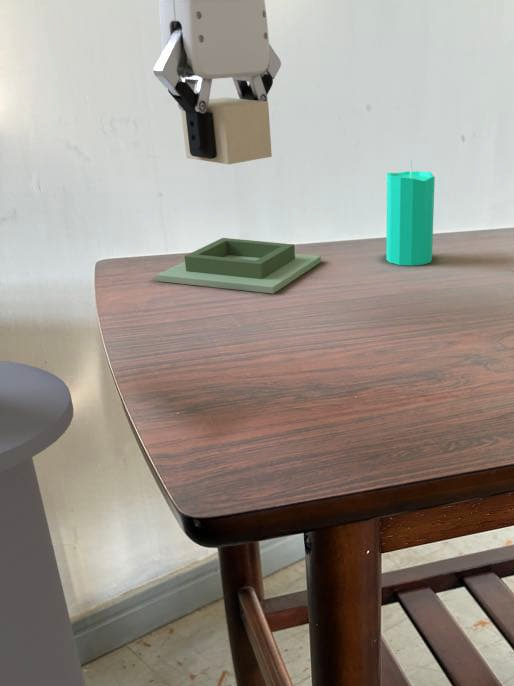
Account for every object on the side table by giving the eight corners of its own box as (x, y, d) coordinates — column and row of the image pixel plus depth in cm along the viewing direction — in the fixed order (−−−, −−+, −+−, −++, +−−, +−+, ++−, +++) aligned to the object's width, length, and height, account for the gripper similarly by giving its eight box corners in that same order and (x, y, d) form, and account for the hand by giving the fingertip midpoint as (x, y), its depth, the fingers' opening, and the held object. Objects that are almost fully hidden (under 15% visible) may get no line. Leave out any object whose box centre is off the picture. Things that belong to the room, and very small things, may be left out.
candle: (387, 265, 112) (388, 164, 105) (385, 253, 117) (385, 157, 110) (434, 265, 112) (438, 165, 106) (429, 253, 117) (432, 157, 111)
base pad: (273, 293, 100) (272, 271, 99) (157, 281, 104) (154, 259, 102) (321, 262, 112) (320, 241, 111) (215, 252, 116) (213, 231, 115)
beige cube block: (228, 164, 84) (223, 106, 81) (186, 157, 87) (179, 102, 84) (272, 156, 88) (268, 101, 85) (229, 150, 91) (225, 97, 88)
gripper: (247, -61, 85) (262, 139, 95) (102, -70, 74) (135, 159, 83) (305, -63, 82) (314, 146, 91) (161, -73, 70) (189, 168, 80)
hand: (228, 150), depth 87 cm, fingers closed on beige cube block, 6 cm apart
